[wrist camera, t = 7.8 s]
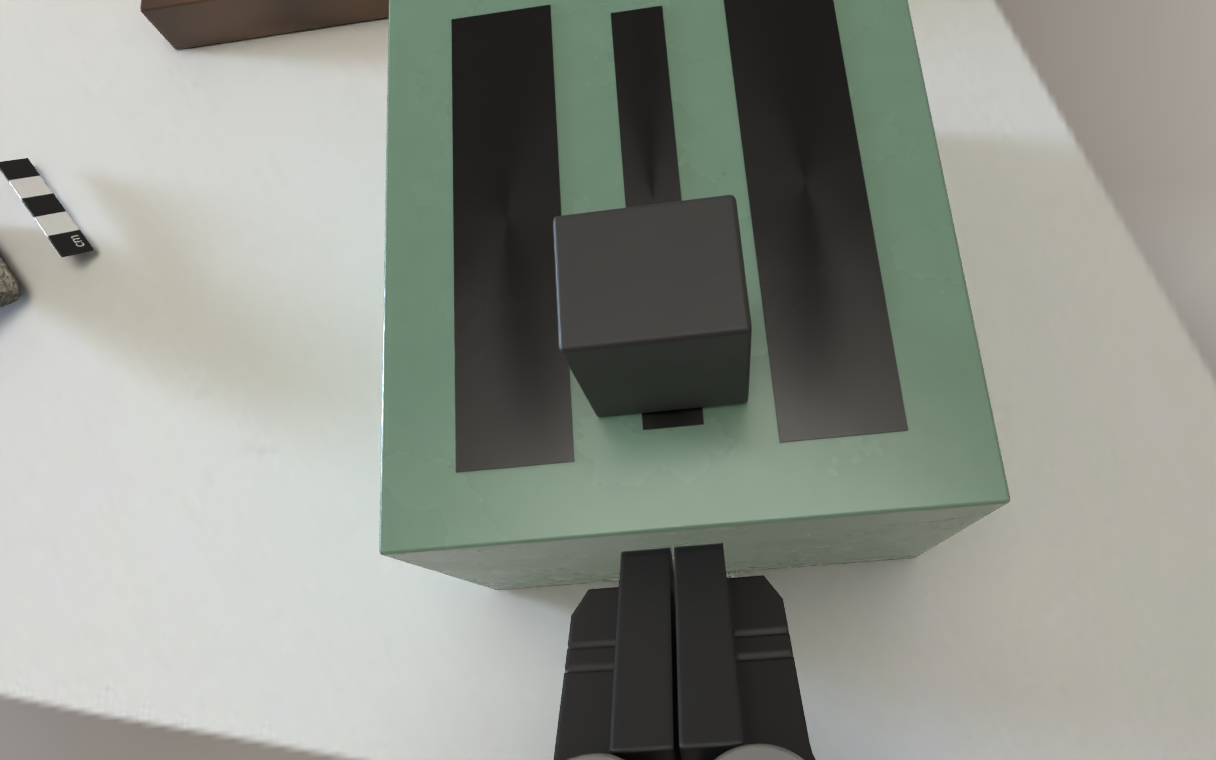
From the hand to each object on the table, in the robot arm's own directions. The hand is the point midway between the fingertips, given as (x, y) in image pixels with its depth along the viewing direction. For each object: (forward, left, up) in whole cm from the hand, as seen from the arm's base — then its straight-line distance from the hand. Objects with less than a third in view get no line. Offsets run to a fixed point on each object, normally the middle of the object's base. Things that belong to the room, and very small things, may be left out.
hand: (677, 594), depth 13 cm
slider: (0, -5, -3) cm, 6 cm away
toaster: (0, -8, -12) cm, 15 cm away
